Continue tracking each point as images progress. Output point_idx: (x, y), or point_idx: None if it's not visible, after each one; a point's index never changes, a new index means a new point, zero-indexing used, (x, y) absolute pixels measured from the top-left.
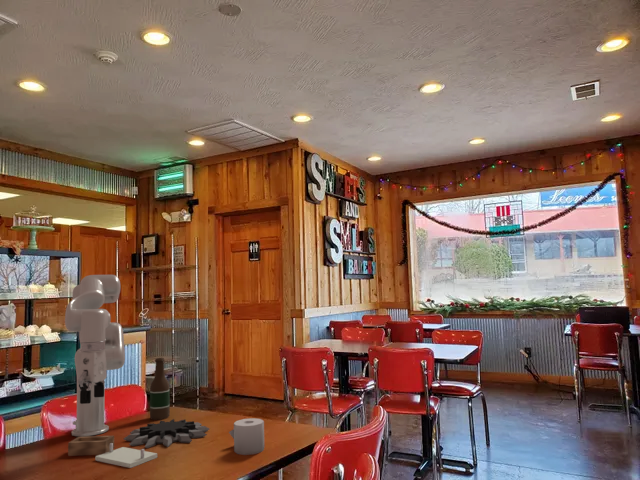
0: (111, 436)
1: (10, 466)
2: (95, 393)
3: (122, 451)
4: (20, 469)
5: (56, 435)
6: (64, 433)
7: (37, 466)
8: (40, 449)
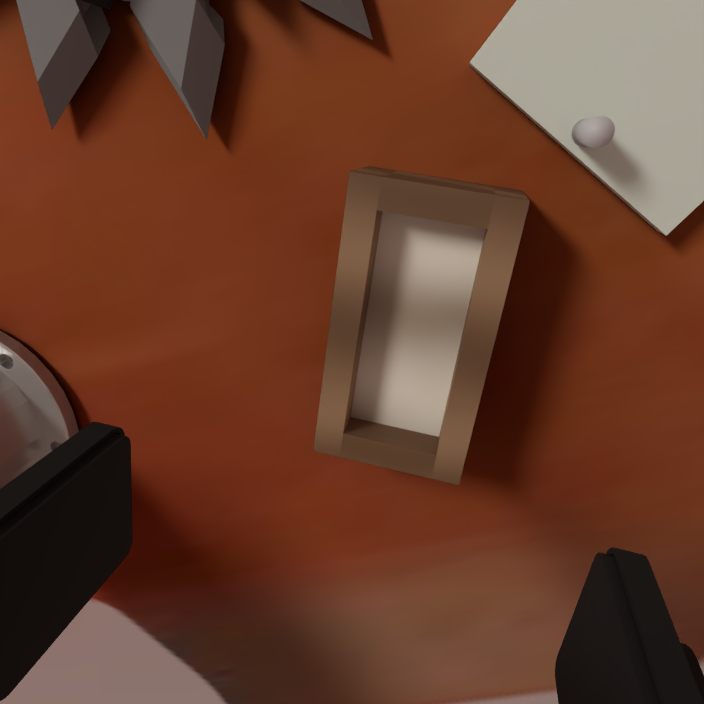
0: (375, 189)
1: None
2: (96, 572)
3: (616, 24)
4: None
5: None
6: None
7: None
8: (283, 599)
